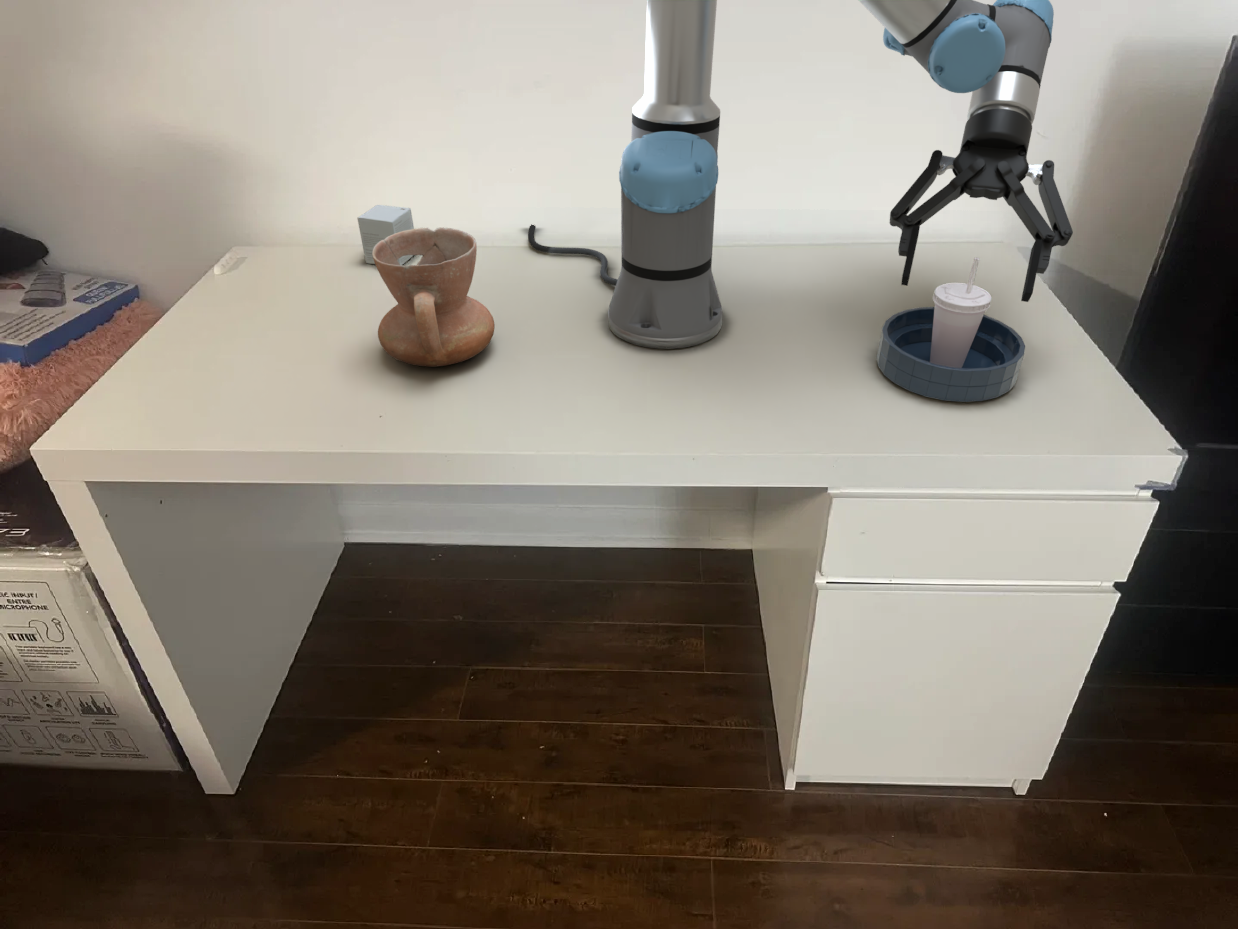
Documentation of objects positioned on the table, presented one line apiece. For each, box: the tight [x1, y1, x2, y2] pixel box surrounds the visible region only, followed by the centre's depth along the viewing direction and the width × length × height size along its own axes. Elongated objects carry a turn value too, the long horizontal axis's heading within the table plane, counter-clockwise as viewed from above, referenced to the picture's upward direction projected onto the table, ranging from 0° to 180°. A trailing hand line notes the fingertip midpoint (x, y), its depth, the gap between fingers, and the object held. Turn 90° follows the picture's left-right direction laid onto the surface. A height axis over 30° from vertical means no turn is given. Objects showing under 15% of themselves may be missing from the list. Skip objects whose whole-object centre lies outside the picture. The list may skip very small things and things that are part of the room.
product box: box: [357, 204, 415, 266], centre depth 134 cm, size 6×6×7 cm
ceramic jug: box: [372, 226, 495, 368], centre depth 107 cm, size 18×14×14 cm
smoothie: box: [930, 257, 993, 368], centre depth 102 cm, size 6×6×14 cm
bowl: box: [876, 306, 1026, 403], centre depth 105 cm, size 16×16×4 cm
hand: (964, 289), depth 102 cm, fingers open, 13 cm apart
